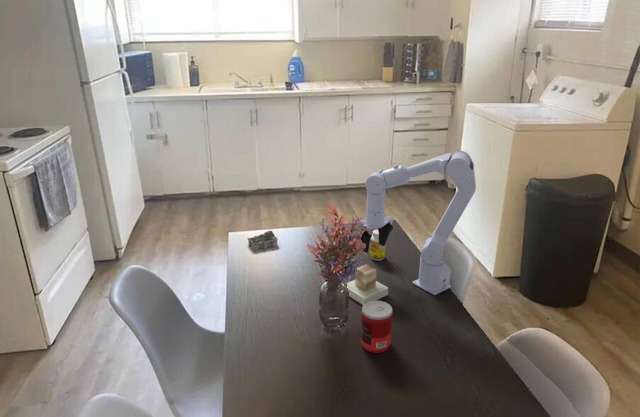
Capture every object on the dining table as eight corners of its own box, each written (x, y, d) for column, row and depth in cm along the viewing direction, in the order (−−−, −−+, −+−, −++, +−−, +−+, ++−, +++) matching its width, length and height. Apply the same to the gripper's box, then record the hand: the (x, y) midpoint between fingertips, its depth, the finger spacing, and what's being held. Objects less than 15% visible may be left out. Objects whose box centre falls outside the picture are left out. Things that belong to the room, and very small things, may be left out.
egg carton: (273, 239, 186) (273, 229, 184) (279, 247, 179) (279, 237, 178) (246, 243, 182) (246, 233, 180) (251, 251, 175) (251, 241, 174)
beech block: (375, 286, 146) (376, 269, 144) (364, 291, 144) (365, 274, 142) (365, 280, 150) (366, 264, 147) (355, 285, 147) (355, 268, 145)
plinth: (387, 294, 147) (388, 287, 146) (364, 305, 141) (364, 298, 140) (365, 281, 154) (366, 274, 153) (342, 291, 149) (342, 284, 148)
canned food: (394, 340, 126) (397, 305, 122) (382, 357, 120) (384, 321, 115) (368, 331, 130) (370, 297, 126) (355, 347, 123) (356, 312, 119)
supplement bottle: (366, 256, 171) (367, 230, 168) (379, 252, 174) (380, 227, 170) (375, 262, 167) (376, 236, 163) (387, 259, 169) (389, 233, 165)
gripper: (382, 201, 157) (380, 238, 162) (349, 211, 149) (349, 250, 154) (398, 207, 152) (395, 245, 157) (365, 218, 144) (363, 257, 149)
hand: (373, 248), depth 155 cm, fingers open, 7 cm apart
